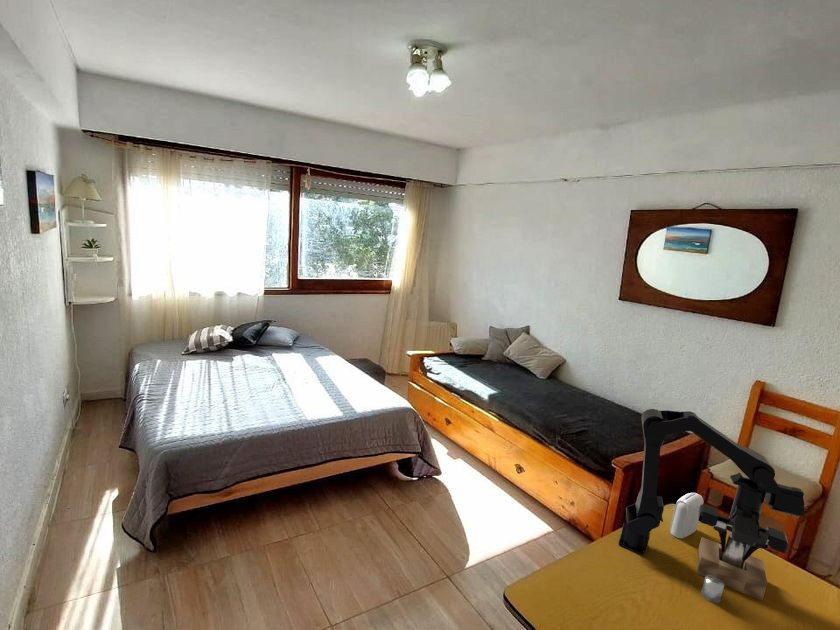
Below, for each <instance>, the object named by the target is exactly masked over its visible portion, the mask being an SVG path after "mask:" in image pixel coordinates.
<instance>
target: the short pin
mask: <svg viewBox="0 0 840 630" xmlns="http://www.w3.org/2000/svg"><path fill="white" fill-rule="evenodd" d="M724 588H725V585H724V583H723V581H722V580H721V579H719V578H718V577H716V576H713V575H706V576H705V577H704V581H703V584H702V587H701V591H700V593H701V596H702V597H703V598H704V599H705V600H707V601H708V602H710V603H713V604H719V603H721V598H722V596H723V591H724Z"/></svg>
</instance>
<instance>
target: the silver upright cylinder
mask: <svg viewBox="0 0 840 630" xmlns="http://www.w3.org/2000/svg"><path fill="white" fill-rule="evenodd" d="M725 546H726V547H725V550H724V554H723V557H722V561H723V562H726V563H728V564H731V565H733V566H736V567H738V568H740V566H741V563H742V559H743V556H744V552H745V549H746V546H747V544H745V543H743V542H740V541H736V540H734V539H733V538H732V533H730V534H728V537H727V538H726V543H725Z"/></svg>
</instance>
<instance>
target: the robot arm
mask: <svg viewBox="0 0 840 630" xmlns="http://www.w3.org/2000/svg"><path fill="white" fill-rule="evenodd" d="M640 420H641V426H642V431H643V432H642V433H643V439H644V447H643V463H642V474H641V475H642V476H641V487H640V489H639V492H638V495H637V498H636V500H635V503H633V504H630V505H628V506H626V507H625V513H626V514H625V515H626V516H625V517H624V519H623V520H624V521H623V525H622V529H621V534H620V536H619V541H618V543H617V544H618V545H619V546H620V547H622V548H625V549H628V550H630V551H632V552H634V553H637V554H639V555H642V556H643V555H644V554H645V551H647V550H648V545H649V542H650V536H651V533H650V532H652V531H653V530H654V529H656V528H659V527H660V524H661V522H662V523H664V517H663V514H664V513H663V512H664V509H665V506H664V502H663V496H661V495H660V496H658V486H659V485H658V484H659V474H660V473H659V471H660V470H659V469H660V461H661V460H660V458H661V448H662V446H663V444H664V442H665V439H666V436H668V435H675V434H680V433H684V432H692V433H693V434H694V435H695V436H697V437H699V438H700V440H703V441H704V442H705V443H707V444H708V445H710V446H712V448H714V449H715V450H716V451H719V453H721V454H722V455H724V456H725V457H727V458H728V459H729V460H731V461H732V463H734V465H736V467H737V468H738V469H739V470H740V471H741V472H742V473H743V474H744V475H745V476H746V477H745V476H743V475H742V473H741V472H738V473H735V474H731V475H730V476H729V478H730V480H731V482H732V483H733V485H737V487H736V488H737V489H736V491H735V496H734V498H733V503H732V506H731V510H730V513H729V517H727V516H725V515H721V514H719V510H718V508H716V507H713V506H710V505H707V504H705V503H703V504H702V505H700V508H699V515H698V520H699V522H700V523H701V524H705V525H707V526H710V527H713V530H714V531H716V532H717V533H718V536H719V539H720V544H721V549H722V552H724V550H725V546H726V543H727V534H728V529H727V528H728V527H731V534H732V538H733V539H734V540H736V541H740V542H743V543H745V544H747V545H746V549H745V552H744V556H743V560H744V561H745V560H746V559H747V558H748V557H749V556H752V555H753V554H754V553H755V552H756V551H757V550H759V549H765V550H767V549H768V548H769V547H770V549H771V550H775V551H776V552H780V553H782V554H787V553H788V549H789V545H790V544H789V541H788V537H787V534H786V533H785V531H781V530H779V529H776V528H773V527H770V526H766V528H763V527H762V526H760V522H759V520H760V514H761V512H762V509H763V508H762V507H763V505H764V502H765V504H766V505H768V507H769V509H770V510H771V511H774V512H778V513H781V514H785V515H789V516H793V517H796V518H801V517H803V515H804V513H805V509H806V508H805V499H804V497H805V496H804V495H805V493H804V491H803V490H802V489H801V488H798V487H795V486H794V487H793V486H788V485H785V484H779V483H778V482H777V481H776V480H775V477H776V471H775V469H774V468H773V467H774V466H772V464H771V463H770V462H769V461H768V459H767V458H766V457H765V456H764V455H762V454H761V453H759V452H758V451H755V450H753V449H751V448H749V447H746V446H742V445H740V444H738V443H737V442H735V441H734V440H732V439H731V438H729V436H727V435H725V434H724V433H722V432H721V431H719V429H716V428H715V427H714V426H712V425H711V424H710V423H708V422H707V421H705V420H703V419H702V418H701V417H699V416H698V415H697V413H695V412H693V411H688V410H687V411H679V410H678V411H676V410H659V409H656V408H649V409H646V410H644V411H643V412H642V413H641V419H640Z"/></svg>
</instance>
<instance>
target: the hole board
mask: <svg viewBox="0 0 840 630" xmlns="http://www.w3.org/2000/svg"><path fill="white" fill-rule="evenodd" d="M725 547H726V545H725ZM723 554H724V552H722V549H721V543H719V542H716V541H713V540H711V539H708V538H705V537H703V536H701V538H700V541H699V545H698V549H697V561H696V562H697V563H696V564H697V565H696V567H697V568H696V573H697V575H700V576H702V577H704V578H705V576H706V575H713V576H716V577H718V578H719V579H721V580H722V581H723V583H724V587H725V586H726V587H727V588H730V589H732V590H736V591H737V592H740V593H743V594H744V595H747V596H749V597H752V598H754V599H755V600H759V601H760V602H762V601H763V600H764V596H765V592H766V590H767V586H768V580H767V579H768V578H767V574H766V569H765V564H764V560H762V559H759V558H758V557H755V556H753V555H750V556H749V557H748V558H747V559H746V560H745V561H744V560H743V559H742V563H741V566H740V568H738V567H736V566H733V565H731V564H728V563H726V562H723V561H722V557H723Z"/></svg>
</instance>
